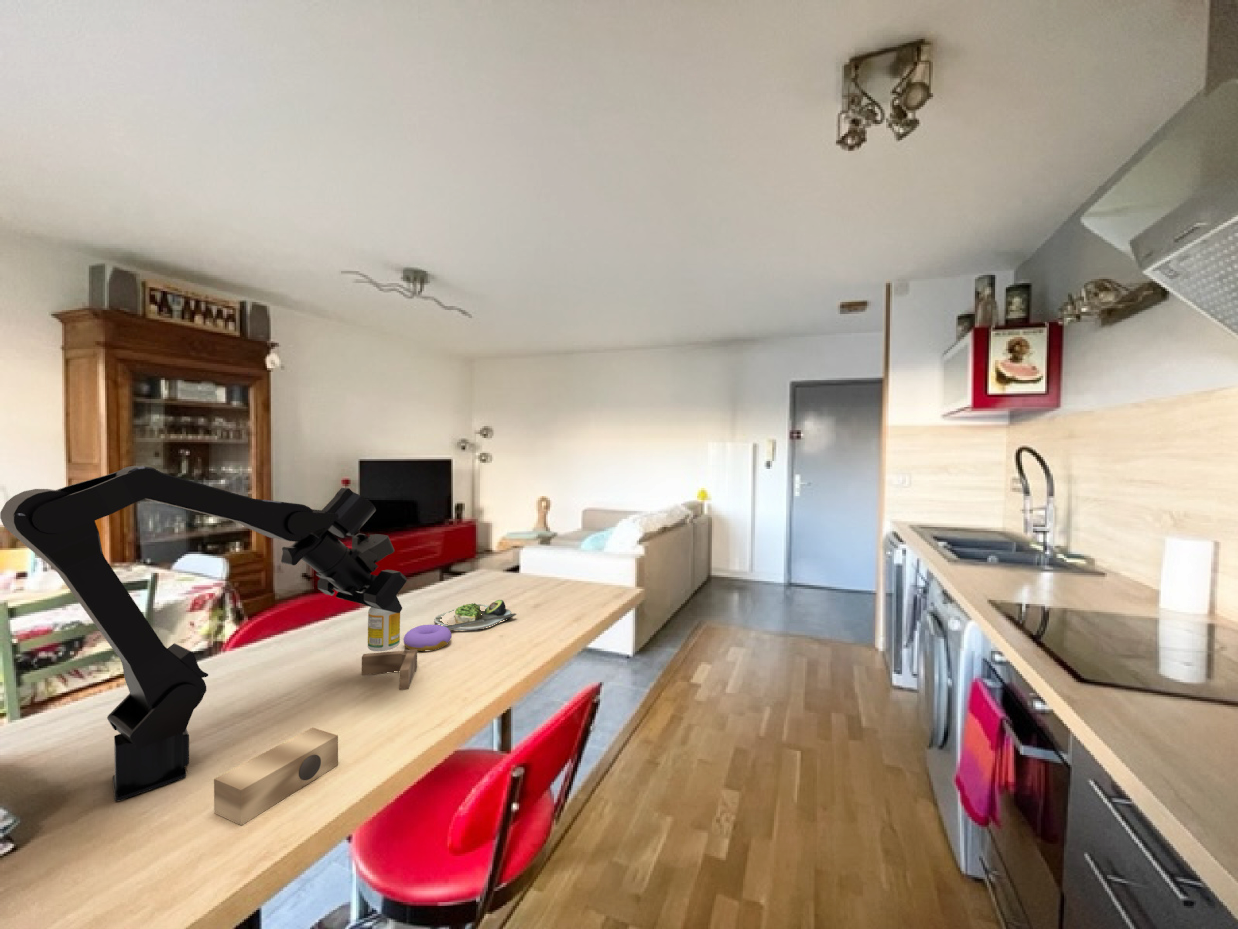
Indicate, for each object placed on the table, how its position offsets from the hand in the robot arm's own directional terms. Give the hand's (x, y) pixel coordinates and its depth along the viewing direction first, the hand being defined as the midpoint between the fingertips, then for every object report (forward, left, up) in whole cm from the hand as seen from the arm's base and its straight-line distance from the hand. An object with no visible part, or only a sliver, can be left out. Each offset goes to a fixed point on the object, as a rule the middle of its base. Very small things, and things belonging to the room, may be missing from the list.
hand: (390, 608), depth 93 cm
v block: (+2, +1, -13) cm, 13 cm away
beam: (-22, -21, -13) cm, 33 cm away
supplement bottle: (-1, 0, -7) cm, 7 cm away
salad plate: (+29, +19, -14) cm, 37 cm away
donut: (+13, +11, -14) cm, 22 cm away
